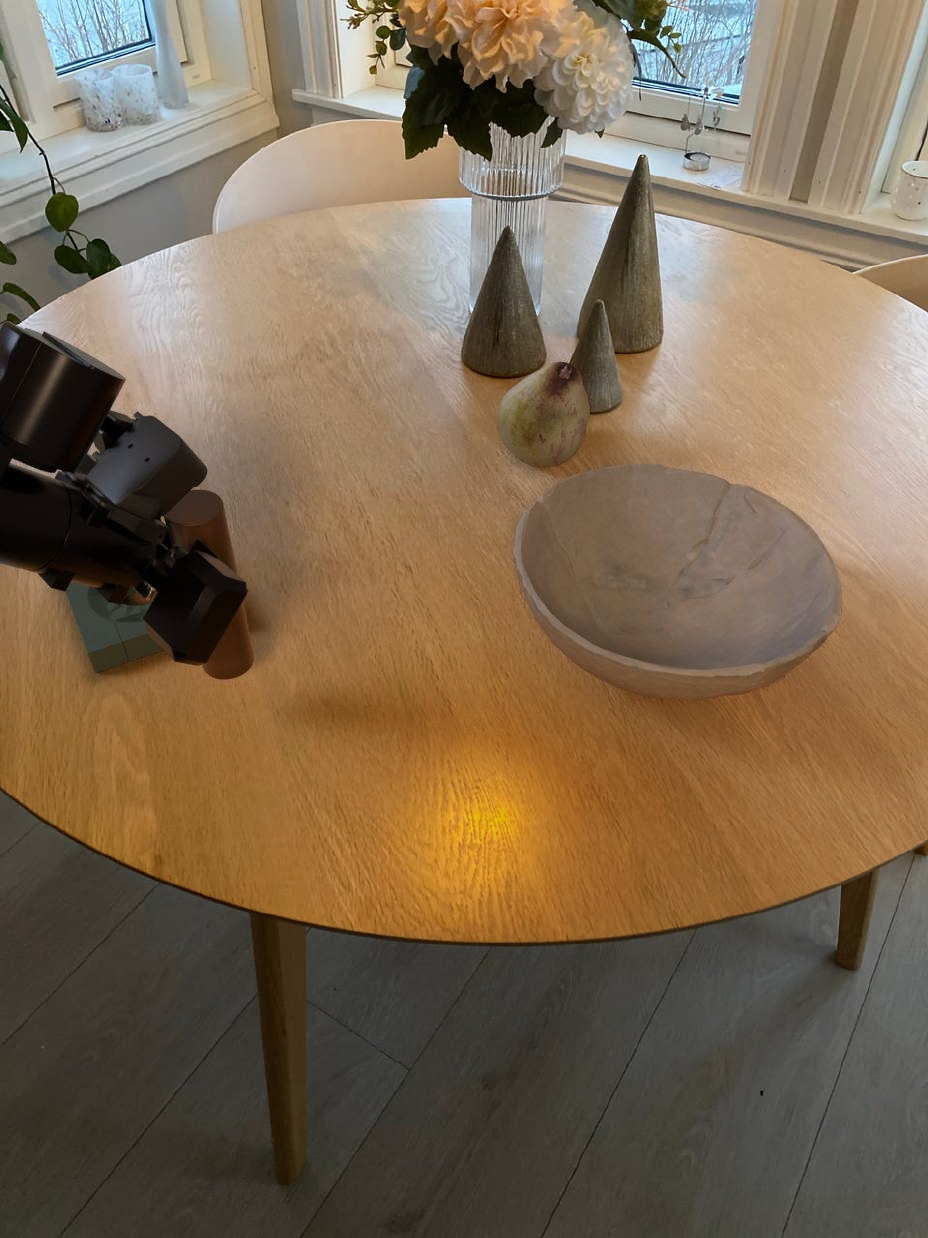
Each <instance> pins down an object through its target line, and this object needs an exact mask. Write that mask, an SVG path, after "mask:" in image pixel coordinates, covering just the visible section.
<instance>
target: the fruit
mask: <svg viewBox="0 0 928 1238" xmlns="http://www.w3.org/2000/svg"><path fill="white" fill-rule="evenodd" d="M590 414H591V407H590V402H589V398H588V394H587V391H586V388H585V385H584V382H583V379H582V375H581V372H580V371H579V369H577V367H575V366H574V365H573V364H571V363H569V362H566V361H554V362H552V363H548V364H547V365H545V366H543V367H542V368H540V369H538V370H536V371H534V372H532V373H530V374H528V375H527V376H526V377H524V378H522V380H520V381H519V382H518V383H517V384H515V385H513V387H512V388H510V389H509V390H508V391H507V392H506V393H505V395H504V396H503V397H502V398H501V400H500V403H499V406H498V411H497V415H496V416H497V417H496V428H497V432H498V435H499V437H500V440H501V441H502V443H503V444H504V446H505V447H506V448H507V450H508V451H509V452H510V453H511V454H512V455H513V456H514V457H515V458H517V459H518V460H519V461H521V462H523V463H525V464H527V465H530V466H532V467H535V468H542V467H543V468H544V467H546V468H547V467H556V466H560V465H562V464H563V463H565V462H567V461H568V460H570V459H571V458H572V457H573V456H574V455H575V454H576V453H577V451H578V450H579V448H580V447H581V444H582V442H583V441H584V438H585V434H586V431H587V425H588V423H589V419H590Z"/></svg>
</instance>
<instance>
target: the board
mask: <svg viewBox="0 0 928 1238" xmlns="http://www.w3.org/2000/svg"><path fill="white" fill-rule="evenodd" d="M64 593H65V596H66V598H67V601H68V604H69V607H70V610H71V612H72V615H73V618H74V620H75V623H76V626H77V629H78V632H79V635H80V637H81V640H82V643H83V645H84V648H85V651H86V654H87V656H88V659H89V661H90V664H91V667H92V670H93V672H94V674H97V673H100V672H103V671H106V670H109V669H112V668H115V667H119V666H121V665H123V664H127V663H131V662H133V661H136V660H139V659H141V658H145V657H148V656H151V655H153V654H157V653H160V652H162V651H164V650H163V649H162V648H161V647H160V646H159V645H158V644H157V643H156V642H155V641H154V640H153V639H152V638H151V637H150V636H149V635H148V634H147V631H146V628H145V625H144V621H143V617H144V615H145V614H146V612H147V610H148V608H149V607H150V605H151V603H152V602H149V603H146V604H141V605H128V604H124V602H125V600H126V599H127V598H129V597H130V596H132V595H133V594H136V593H137V592H136V591H135V590H134V589H133V588H131V587H130V589H129V591H128V593H127V594H126V596H125V598H124V600H123V601H122V603H121V605H119V604H115V603H111V602H107V601H106V600H105V598H104V597H103V596H102V595H101V594H100V593H99V592H98V591H97V590H96V589H95V588H94V587H91V586H87V585H83V584H79V583H75V582H71V583H70V584H69V586H68V588H67V590H66V592H65V591H64Z"/></svg>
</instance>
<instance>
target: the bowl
mask: <svg viewBox="0 0 928 1238" xmlns="http://www.w3.org/2000/svg"><path fill="white" fill-rule="evenodd" d="M512 556H513V563H514V567H515V570H516V574H517V579H518V582H519V585H520V588H521V591H522V593H523V596H524V598H525V601H526V603H527V605H528V607H529V610H530V611H531V614H532V615H533V617H534V619H535V621H536V622H537V624H538V625H539V627H540V628H541V629H542V632H544V634H545V635H546V636H547V638H549V640H550V641H551V642H552V644H553V645H554V646H555V647H556V648H557V649H558V650H559V652H561V653H562V654H563V655H564V656H565V657H567V658H568V659H569V661H571V662H572V663H574V664H575V665H576V666H578V667H579V668H581V669H582V670H583V671H585V672H587V673H588V674H590V675H591V676H593V677H594V678H597V679H598V680H600V681H602V682H605V683H606V684H609V685H611V686H613V687H616V688H618V689H619V690H620V689H621V690H624V691H626V692H628V693H632V694H636V695H639V696H643V697H648V698H652V699H662V700H663V699H666V700H676V701H700V700H710V699H714V698H720V697H728V696H729V697H730V696H740V695H745V694H750V693H753V692H755V691H757V690H761V689H763V688H766V687H768V686H771V685H774V684H778V683H780V682H782V681H784V680H786V675H787V674H789V672H790V671H792V670H794V669H796V668H797V667H798V666H799V665H801V664H803V663H804V662H805V661H806V660H808V658H809V657H810V656H811V655H813V654H814V653H815V652H816V651H818V650H819V649H820V648H821V647H822V645H824V644H825V643H826V642H827V640H828V638H829V637H830V636H831V634H832V633H834V632H835V630H836V629H837V627H838V625H839V623H840V620H841V617H842V612H843V594H842V593H843V591H842V583H841V579H840V575H839V571H838V569H837V566H836V564H835V562H834V559H833V558H832V555H831V554H830V552H829V550H828V549H827V547H826V545H825V544H824V542H823V541H822V539H821V538H820V536H819V535H818V533H817V532H816V531H815V530H814V528H812V526H811V525H809V523H807V521H805V520H804V519H803V518H802V517H801V516H800V515H799V514H797V513H796V512H794V511H793V510H792V509H790V508H789V507H788V506H786V505H784V504H783V503H781V502H780V501H778V499H776V498H774V497H772V496H770V495H768V494H766V493H764V492H762V491H760V490H759V489H756V488H755V487H753V486H750V485H746V484H740V483H737V484H736V483H735V484H732V483H731V482H729V481H728V480H727V479H724V478H722V477H719V476H716V475H714V474H710V473H705V472H700V471H694V470H688V469H681V468H674V467H669V466H665V465H662V464H659V463H632V464H631V463H630V464H624V465H610V466H605V467H600V468H595V469H590V470H587V471H584V472H578V473H575V474H572V475H570V476H568V477H565V478H564V479H562V480H560V481H558V482H556V483H554V484H553V485H552V486H551V487H549V488H548V489H547V490H546V491H545V492H544V493H543V494H542V495H540V497H539V500H538V501H534V503H533V504H531V505H530V506H529V507H527V508H526V509H525V510H524V512H523V513H522V515H521V517H520V519H519V521H518V523H517V525H516V529H515V534H514V540H513V547H512Z"/></svg>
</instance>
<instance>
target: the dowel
mask: <svg viewBox="0 0 928 1238" xmlns="http://www.w3.org/2000/svg"><path fill="white" fill-rule="evenodd" d="M227 518H228V517H227V514H226V509H225V504H224V500H223V499H222V497H221V496H220V495H219V494H217V493H216V492H214V491H211V490H207V489H199V488H198V489H191V490H190V491H189V492H188V493H187V494H186V495H185V496H184V497H183V498H182V499H181V500H180V501H179V502H178V503H177V504H176V505H175V506H174V507H173V508H172V509H171V510H170V511H169V512H168V513H167V514H166V515H164V516H163V520H164V524H165V525H167V526H168V527H169V528H170V529H169V530H168V535H169V539H170V543H171V546H173V545H178V546H181V547H183V548H184V549H185V550H186V551H187V552H190V551H191V549H192V547H193V545H194V544H195V542H196V540H197V539H198V540H199V541H200V542H201V543H202V544H204V545H205V546H206V547H207V548H208V549H209V550H210V551H212V552H213V553H214V554H215V555H216V556H217V557H218V558H219V560H220V561H221V562H223V563H224V564H226V565H227V566H228V567H229V568H230V569H231V570H232V571H234V572H235V573H236V574H237V575H238V576H239V574H238V573H239V572H238V569H237V564H236V558H235V554H234V553H235V552H234V549H233V548H234V547H233V544H232V539H231V538H232V537H231V535H230V528H229V523H228V520H227ZM250 633H251V632H250V629H249V623H248V618H247V614H246V608H245V603H244V601H243V602H242V604H241V606H240V607H239V609H238V611H237V612H236V614H235V616H234V617H233V619H232V621H231V623H230V624H229V626H228V628H227V629H226V631H225V633H224V635H223V636H222V638H221V640H220V641H219V643H218V645H217V646H216V648H215V650H214V652H213V653H212V655H211V657H210V658H209V660H208V662H207V663H206V664H203V665H201V668H202V669H203V672H204V673H205V674H206V675H207V676H209V677H210V678H213V679H216V680H221V681H225V680H232V679H236V678H239V677H242V676H243V675H245V674H246V673H247V672H248V671H249V670H250V669H251V668H252V667H253V664H254V662H255V653H254V648H253V644H252V638H251V634H250Z"/></svg>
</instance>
